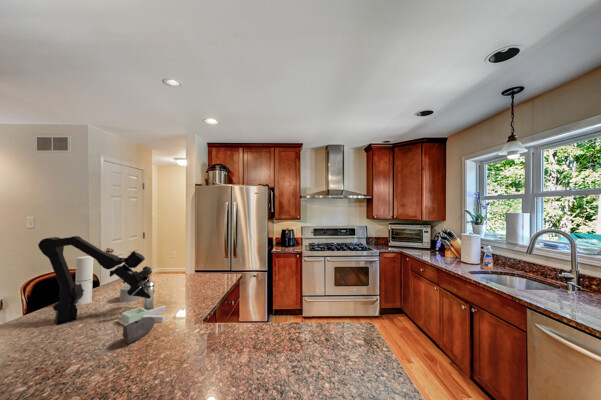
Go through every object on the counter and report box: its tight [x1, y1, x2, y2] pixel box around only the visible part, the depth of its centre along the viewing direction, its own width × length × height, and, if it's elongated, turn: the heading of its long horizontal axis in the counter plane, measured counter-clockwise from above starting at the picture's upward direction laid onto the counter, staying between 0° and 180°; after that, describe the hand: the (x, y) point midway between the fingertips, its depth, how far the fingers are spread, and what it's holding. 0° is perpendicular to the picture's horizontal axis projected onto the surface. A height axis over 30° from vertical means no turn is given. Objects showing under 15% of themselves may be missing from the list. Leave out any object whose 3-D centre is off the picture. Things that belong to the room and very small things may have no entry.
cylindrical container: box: [74, 255, 94, 306], centre depth 134 cm, size 7×7×25 cm
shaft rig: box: [117, 305, 168, 327], centre depth 113 cm, size 19×18×4 cm
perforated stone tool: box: [122, 317, 156, 345], centre depth 96 cm, size 15×5×7 cm, turn 168°
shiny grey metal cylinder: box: [143, 280, 155, 310], centre depth 123 cm, size 4×4×14 cm
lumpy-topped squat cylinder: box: [119, 283, 144, 303], centre depth 140 cm, size 10×13×9 cm
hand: (152, 294), depth 123 cm, fingers open, 9 cm apart
